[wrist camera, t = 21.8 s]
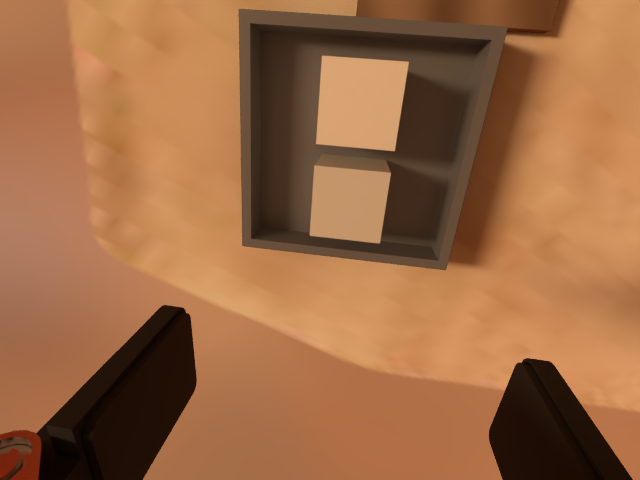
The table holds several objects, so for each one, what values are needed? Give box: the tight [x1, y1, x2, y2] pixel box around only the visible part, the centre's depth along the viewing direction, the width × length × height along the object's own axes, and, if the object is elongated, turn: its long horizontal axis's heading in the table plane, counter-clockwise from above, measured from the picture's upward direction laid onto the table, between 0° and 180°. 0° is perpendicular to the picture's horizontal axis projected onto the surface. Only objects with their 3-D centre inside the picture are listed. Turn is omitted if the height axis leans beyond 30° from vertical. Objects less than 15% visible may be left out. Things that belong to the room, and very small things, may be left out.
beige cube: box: [310, 154, 391, 244], centre depth 28 cm, size 6×6×6 cm
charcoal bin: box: [239, 9, 508, 270], centre depth 28 cm, size 18×18×4 cm
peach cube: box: [316, 56, 409, 151], centre depth 25 cm, size 6×6×6 cm
